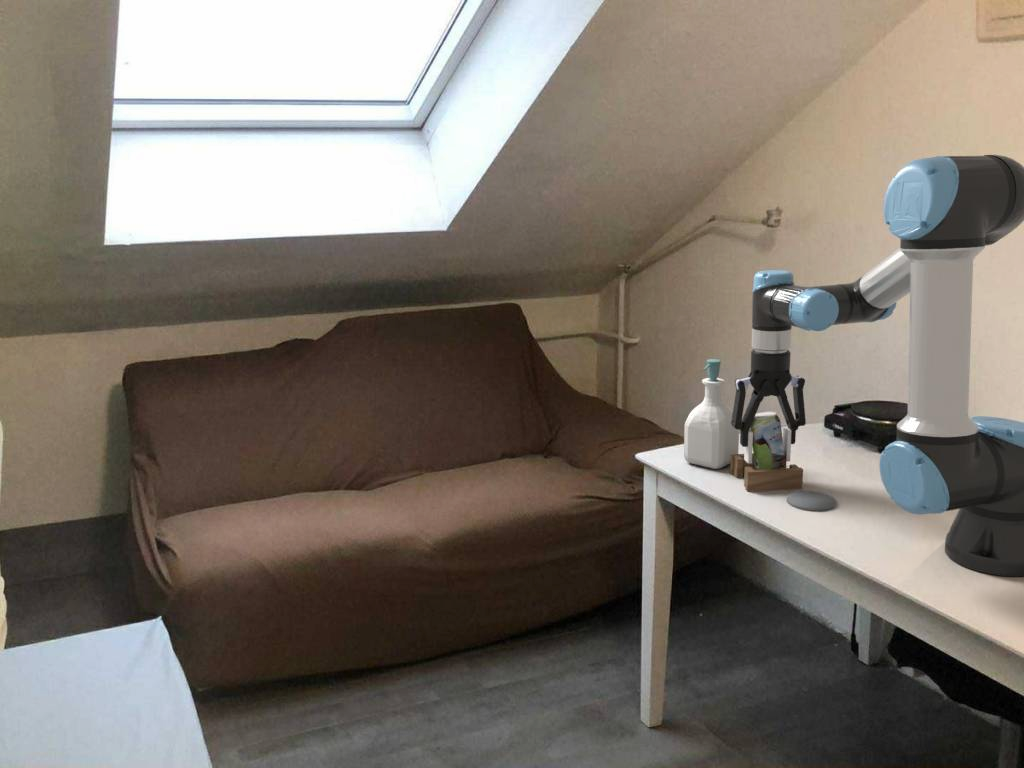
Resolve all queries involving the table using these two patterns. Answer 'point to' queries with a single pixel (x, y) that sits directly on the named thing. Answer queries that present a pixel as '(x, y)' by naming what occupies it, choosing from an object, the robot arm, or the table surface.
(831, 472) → the table surface
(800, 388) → the robot arm
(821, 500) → the coaster
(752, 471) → the caddy
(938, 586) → the table surface
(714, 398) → the soap bottle
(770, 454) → the beverage can
